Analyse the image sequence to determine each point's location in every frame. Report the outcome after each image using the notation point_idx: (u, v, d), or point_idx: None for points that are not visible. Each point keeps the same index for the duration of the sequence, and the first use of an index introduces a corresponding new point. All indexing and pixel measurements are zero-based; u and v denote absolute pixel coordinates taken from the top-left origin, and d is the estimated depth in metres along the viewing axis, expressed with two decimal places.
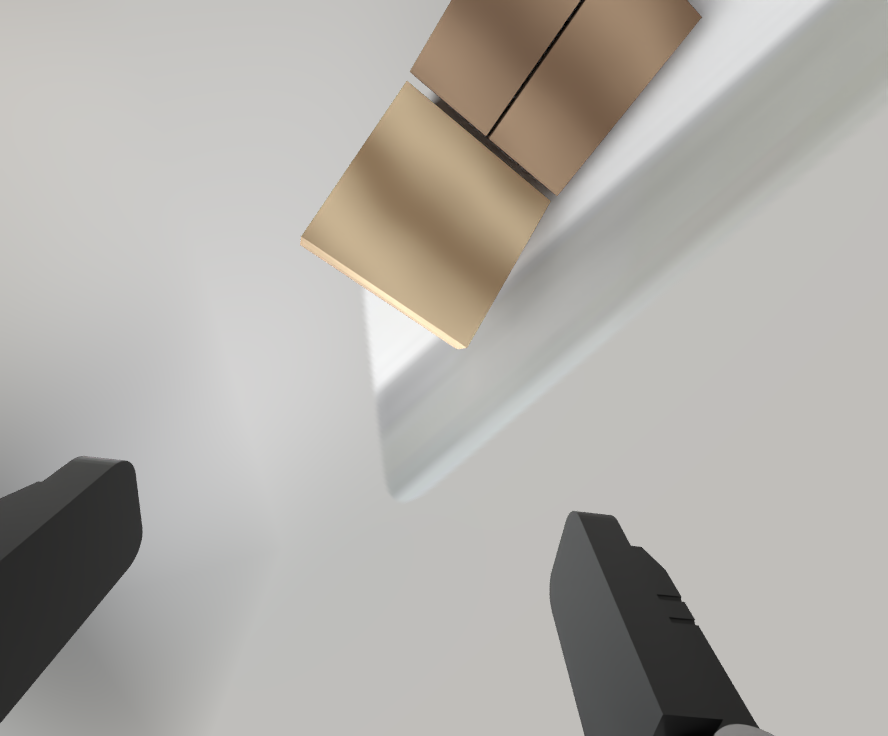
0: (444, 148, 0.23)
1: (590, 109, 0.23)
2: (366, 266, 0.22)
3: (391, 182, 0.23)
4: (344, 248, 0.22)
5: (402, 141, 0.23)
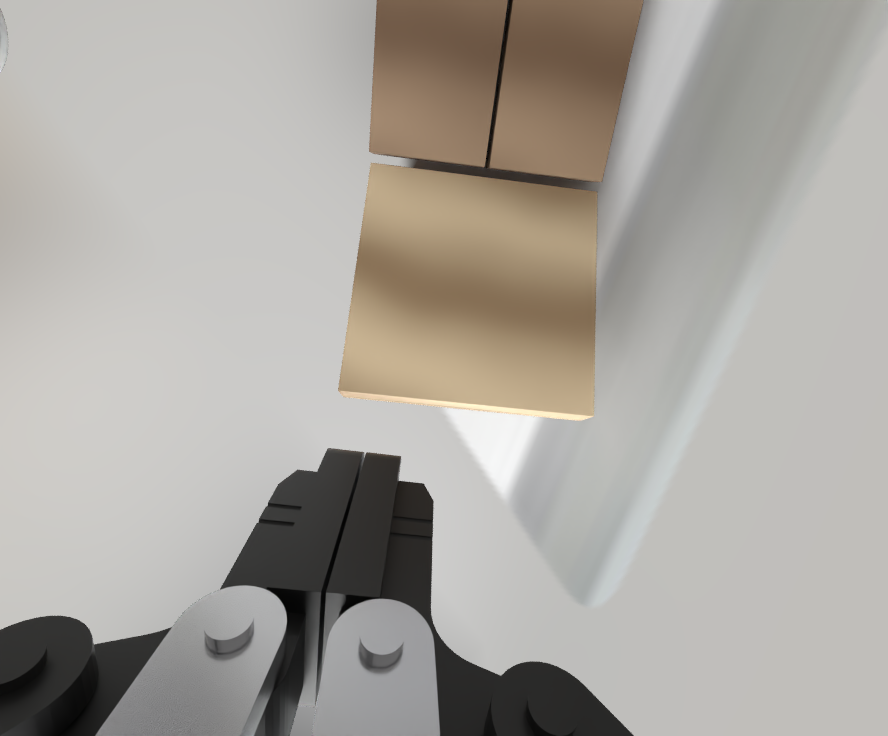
0: (446, 207, 0.19)
1: (590, 64, 0.18)
2: (425, 384, 0.17)
3: (407, 275, 0.18)
4: (391, 377, 0.17)
5: (396, 226, 0.18)
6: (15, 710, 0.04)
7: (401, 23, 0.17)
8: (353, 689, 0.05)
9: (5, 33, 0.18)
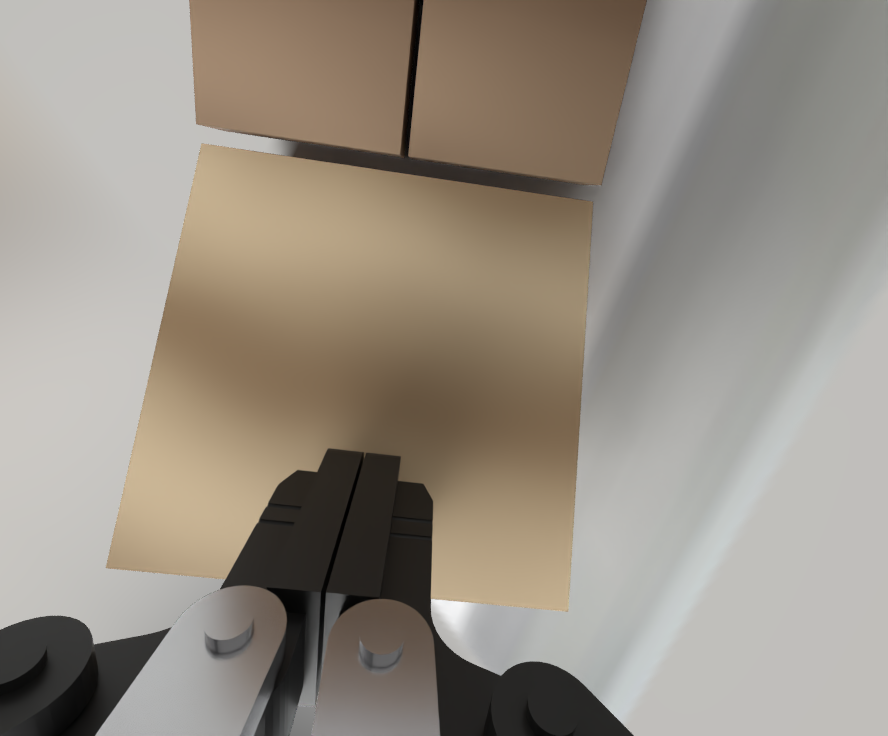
0: (329, 225, 0.11)
1: None
2: None
3: (250, 350, 0.10)
4: (207, 541, 0.10)
5: (238, 259, 0.11)
6: (14, 710, 0.04)
7: None
8: (353, 689, 0.05)
9: None
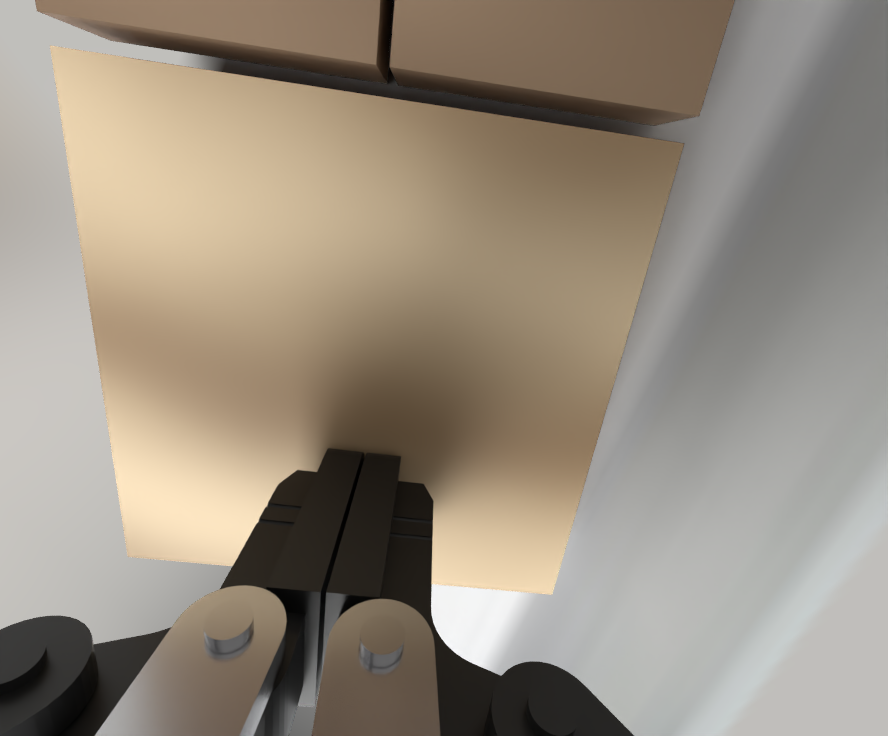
0: (278, 193, 0.07)
1: None
2: None
3: (208, 367, 0.09)
4: (212, 540, 0.10)
5: (164, 249, 0.08)
6: (14, 710, 0.04)
7: None
8: (353, 689, 0.05)
9: None
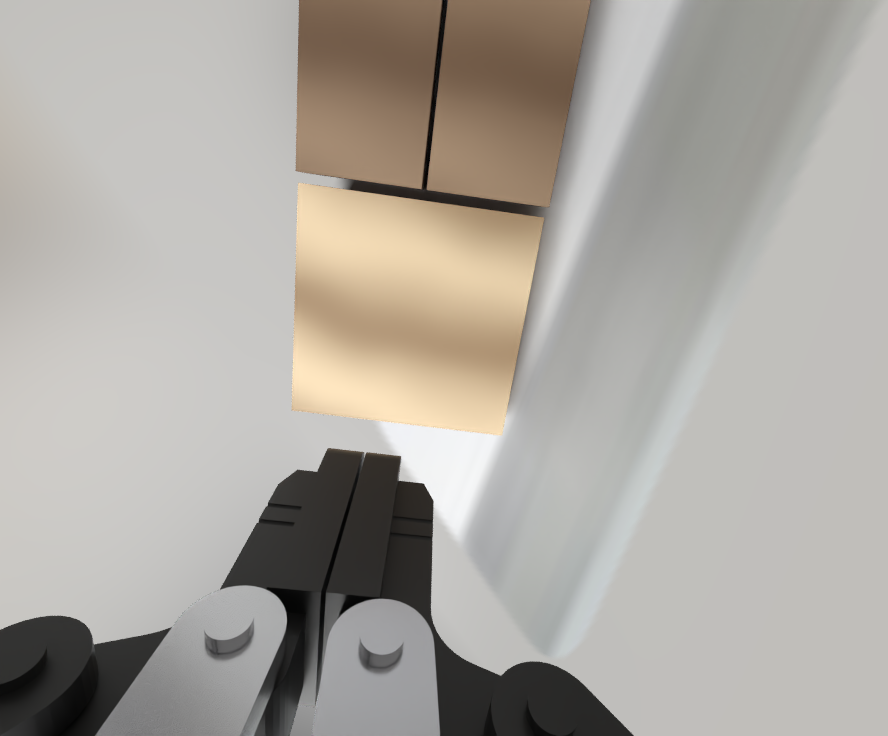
0: (379, 237, 0.18)
1: (532, 82, 0.16)
2: (362, 407, 0.21)
3: (342, 312, 0.19)
4: (334, 401, 0.21)
5: (330, 260, 0.19)
6: (15, 710, 0.04)
7: (326, 35, 0.16)
8: (353, 689, 0.05)
9: None
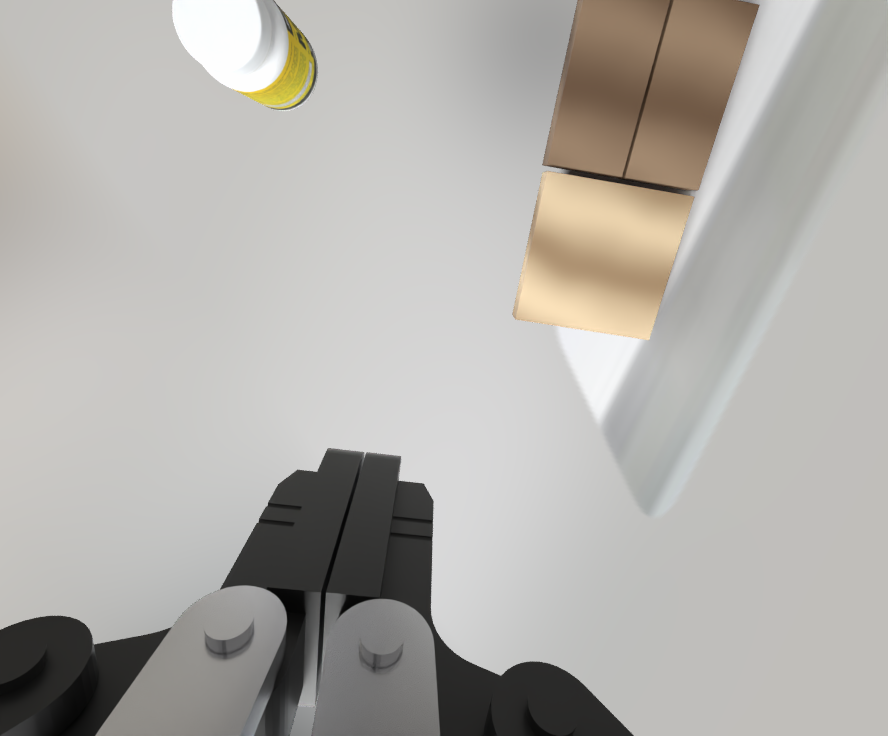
0: (591, 206, 0.29)
1: (698, 114, 0.28)
2: (561, 318, 0.32)
3: (560, 254, 0.30)
4: (544, 313, 0.32)
5: (558, 219, 0.30)
6: (15, 710, 0.04)
7: (581, 83, 0.27)
8: (353, 689, 0.05)
9: None
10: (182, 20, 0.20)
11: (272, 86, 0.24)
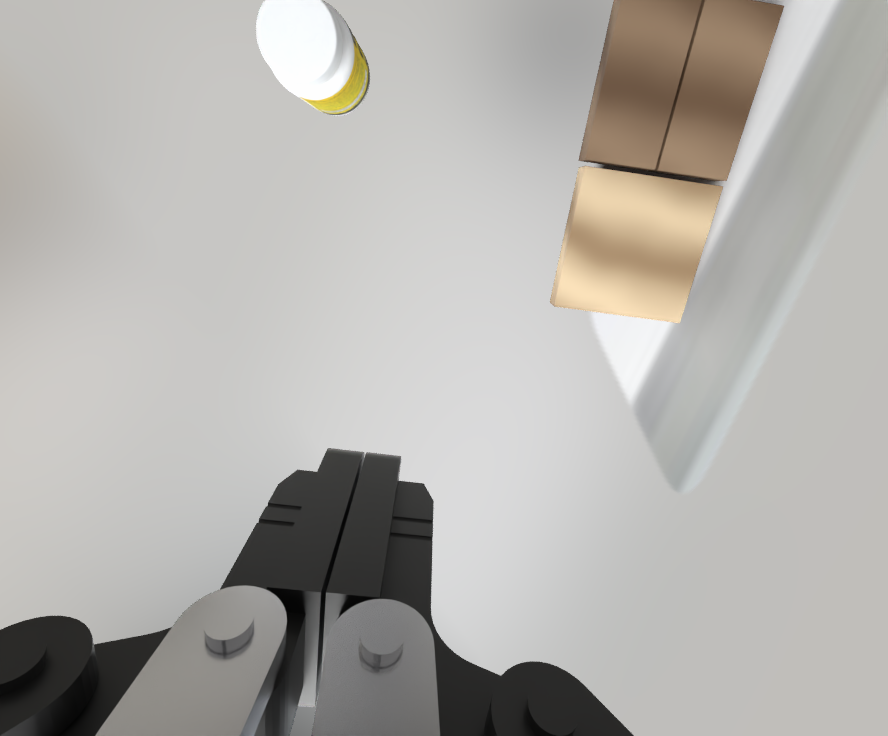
0: (626, 198, 0.31)
1: (726, 109, 0.30)
2: (597, 304, 0.34)
3: (596, 243, 0.32)
4: (581, 300, 0.34)
5: (595, 211, 0.32)
6: (14, 710, 0.04)
7: (617, 83, 0.29)
8: (353, 689, 0.05)
9: None
10: (265, 37, 0.22)
11: (338, 94, 0.26)
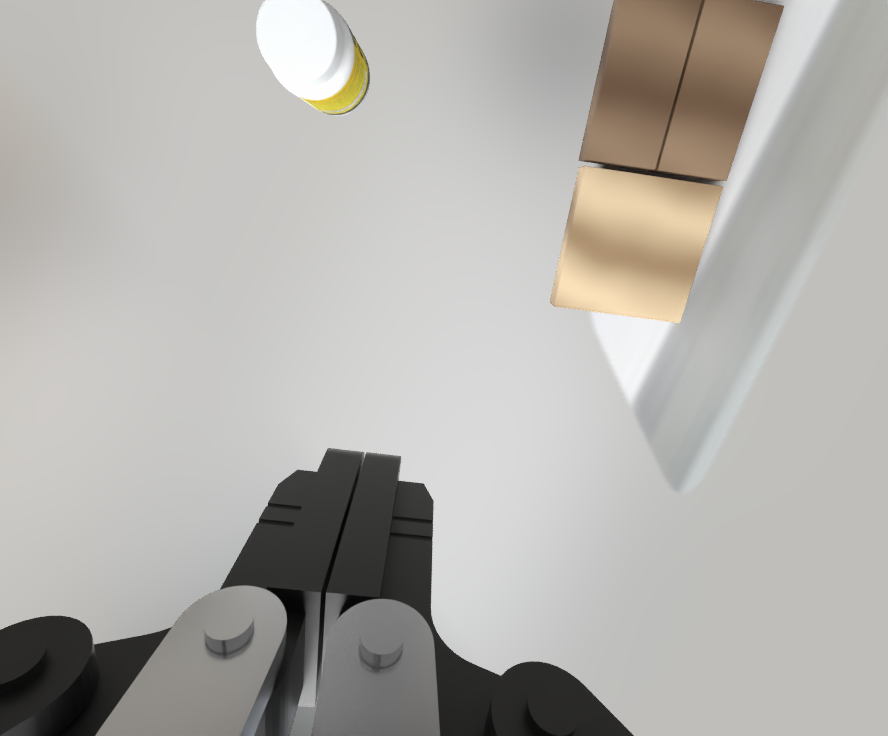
0: (626, 198, 0.31)
1: (726, 109, 0.30)
2: (597, 304, 0.34)
3: (596, 243, 0.32)
4: (581, 300, 0.34)
5: (595, 211, 0.32)
6: (14, 710, 0.04)
7: (617, 83, 0.29)
8: (353, 689, 0.05)
9: None
10: (265, 37, 0.22)
11: (338, 94, 0.26)
